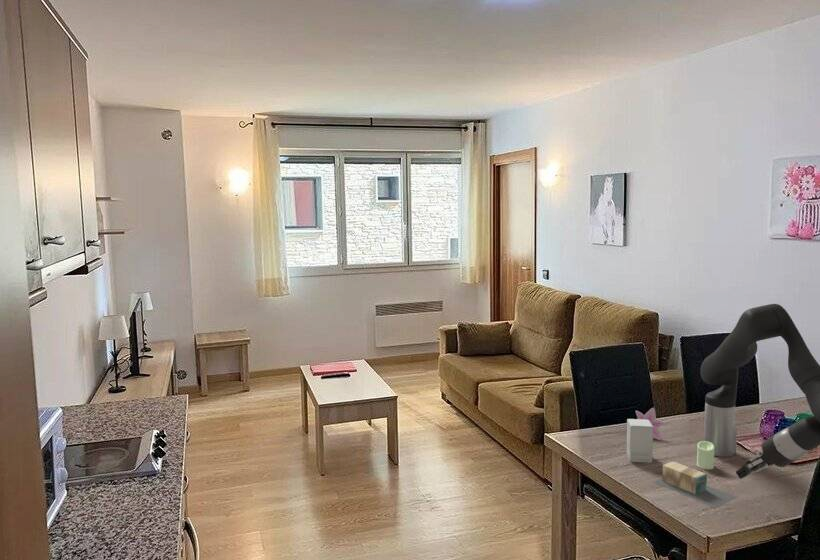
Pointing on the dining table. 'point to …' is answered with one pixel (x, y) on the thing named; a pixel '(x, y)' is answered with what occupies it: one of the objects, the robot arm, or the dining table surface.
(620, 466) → the dining table surface
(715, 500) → the mat
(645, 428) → the supplement box
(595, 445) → the dining table surface
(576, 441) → the dining table surface
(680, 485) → the block
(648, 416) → the lily
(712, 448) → the candle
